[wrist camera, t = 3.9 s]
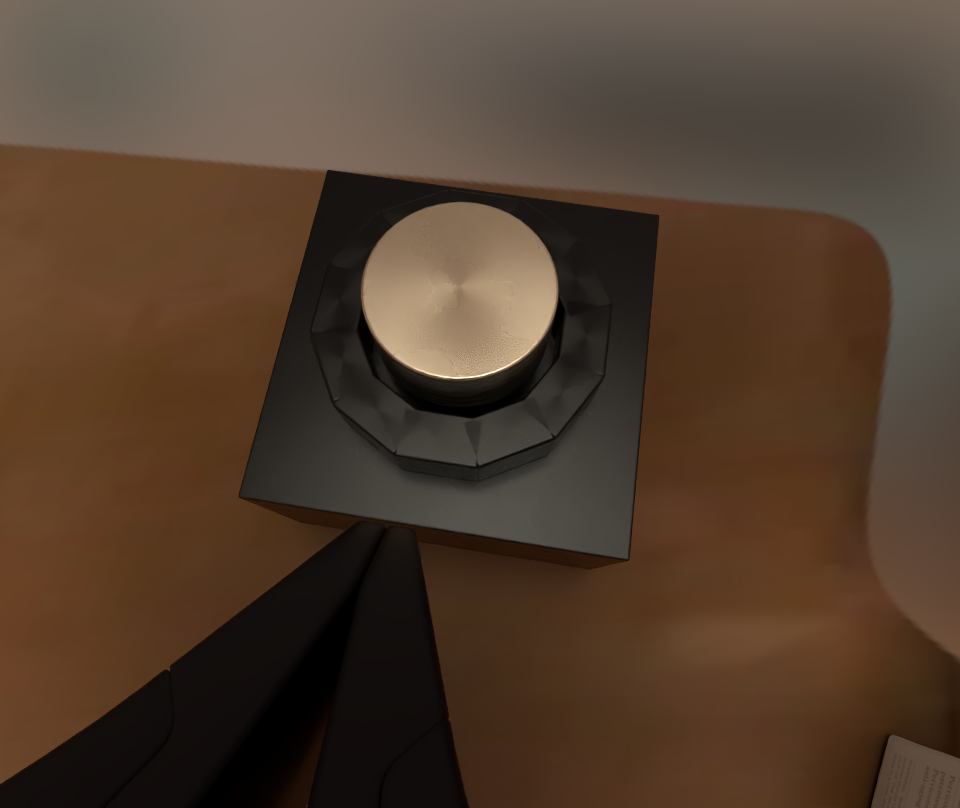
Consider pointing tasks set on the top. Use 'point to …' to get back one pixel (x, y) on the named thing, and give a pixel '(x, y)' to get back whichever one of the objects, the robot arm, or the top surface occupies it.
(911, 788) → the white packaging box
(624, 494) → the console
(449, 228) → the knob
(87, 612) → the top surface
